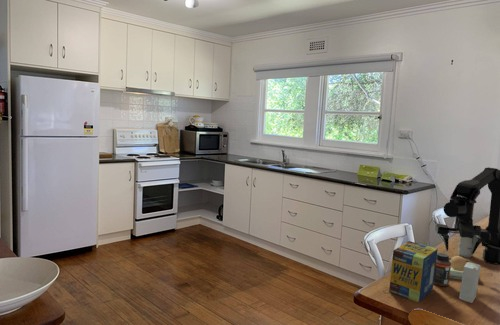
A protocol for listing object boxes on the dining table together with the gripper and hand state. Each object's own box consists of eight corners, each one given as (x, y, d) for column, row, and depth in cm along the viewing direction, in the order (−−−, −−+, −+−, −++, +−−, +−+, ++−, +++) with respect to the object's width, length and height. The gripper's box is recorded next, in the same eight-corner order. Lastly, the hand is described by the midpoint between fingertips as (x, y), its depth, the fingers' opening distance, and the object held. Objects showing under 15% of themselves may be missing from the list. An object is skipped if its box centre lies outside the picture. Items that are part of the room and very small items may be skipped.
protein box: (388, 292, 134) (392, 250, 132) (404, 279, 146) (409, 240, 144) (418, 303, 127) (423, 258, 125) (433, 288, 139) (438, 248, 137)
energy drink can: (469, 258, 171) (473, 226, 169) (455, 254, 175) (459, 223, 174) (474, 256, 175) (478, 224, 173) (460, 252, 179) (464, 221, 178)
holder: (470, 261, 168) (470, 260, 167) (476, 270, 158) (477, 268, 158) (445, 258, 170) (445, 257, 170) (450, 266, 161) (450, 265, 161)
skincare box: (462, 293, 136) (466, 261, 134) (476, 297, 133) (481, 264, 132) (458, 299, 131) (462, 265, 130) (473, 304, 128) (477, 269, 127)
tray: (469, 270, 158) (470, 263, 157) (478, 282, 146) (479, 274, 146) (438, 265, 161) (438, 259, 161) (444, 277, 149) (445, 269, 149)
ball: (463, 268, 156) (465, 254, 155) (467, 274, 150) (469, 260, 149) (447, 266, 157) (449, 252, 156) (451, 272, 151) (452, 258, 151)
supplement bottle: (450, 287, 140) (454, 258, 139) (433, 285, 141) (436, 256, 140) (445, 281, 146) (449, 252, 144) (429, 279, 147) (432, 250, 146)
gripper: (442, 216, 145) (438, 255, 147) (498, 222, 140) (492, 263, 142) (437, 209, 156) (432, 246, 158) (488, 215, 151) (483, 253, 153)
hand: (459, 252), depth 152 cm, fingers open, 9 cm apart
